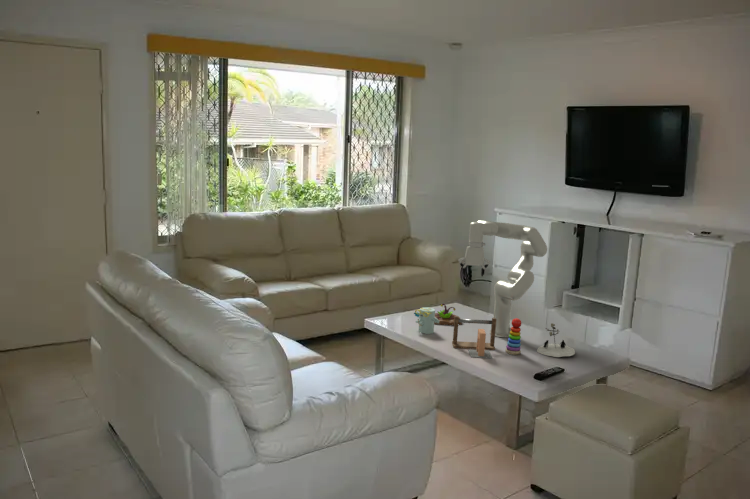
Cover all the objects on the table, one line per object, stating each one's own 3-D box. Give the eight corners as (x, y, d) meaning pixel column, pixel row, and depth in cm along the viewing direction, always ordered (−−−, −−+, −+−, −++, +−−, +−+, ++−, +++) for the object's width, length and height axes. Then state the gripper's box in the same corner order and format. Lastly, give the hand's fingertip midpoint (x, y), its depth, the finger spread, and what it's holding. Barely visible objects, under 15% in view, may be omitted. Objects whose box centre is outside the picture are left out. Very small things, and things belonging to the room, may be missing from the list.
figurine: (578, 350, 342) (578, 320, 340) (571, 359, 327) (571, 329, 324) (541, 346, 352) (541, 317, 350) (532, 355, 336) (532, 325, 334)
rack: (492, 345, 346) (494, 316, 343) (494, 350, 338) (497, 320, 335) (452, 343, 346) (454, 314, 344) (453, 347, 338) (455, 318, 336)
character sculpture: (405, 329, 368) (406, 306, 365) (418, 326, 375) (420, 304, 373) (430, 338, 353) (432, 314, 351) (444, 334, 361) (445, 311, 359)
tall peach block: (482, 351, 334) (483, 329, 332) (484, 356, 326) (485, 333, 324) (476, 350, 334) (478, 328, 332) (478, 355, 327) (479, 333, 324)
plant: (425, 316, 398) (426, 299, 396) (456, 317, 400) (457, 299, 398) (432, 326, 378) (433, 307, 376) (464, 326, 380) (465, 308, 378)
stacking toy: (511, 356, 330) (515, 321, 327) (502, 351, 337) (505, 317, 334) (523, 354, 333) (527, 319, 330) (513, 349, 340) (516, 315, 337)
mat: (489, 351, 336) (489, 350, 336) (492, 358, 325) (492, 357, 325) (468, 350, 336) (468, 349, 336) (470, 357, 325) (470, 356, 325)
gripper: (490, 244, 349) (487, 274, 352) (458, 242, 350) (456, 273, 353) (492, 246, 342) (490, 277, 345) (460, 245, 342) (458, 276, 345)
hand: (473, 275), depth 349 cm, fingers open, 9 cm apart
